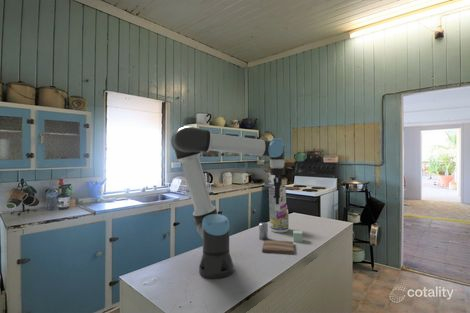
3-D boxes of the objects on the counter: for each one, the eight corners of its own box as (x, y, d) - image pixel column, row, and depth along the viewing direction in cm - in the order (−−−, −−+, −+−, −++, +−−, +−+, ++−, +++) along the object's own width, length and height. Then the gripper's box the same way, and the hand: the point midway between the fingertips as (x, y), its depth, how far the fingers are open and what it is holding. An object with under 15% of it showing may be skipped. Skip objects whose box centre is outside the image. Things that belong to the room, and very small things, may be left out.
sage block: (302, 242, 146) (302, 233, 146) (293, 241, 147) (293, 233, 147) (301, 239, 151) (301, 230, 151) (293, 238, 152) (293, 230, 152)
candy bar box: (278, 214, 143) (278, 184, 143) (286, 215, 140) (286, 185, 140) (268, 218, 134) (268, 187, 134) (277, 219, 131) (276, 187, 131)
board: (293, 254, 129) (293, 251, 129) (262, 252, 132) (262, 249, 132) (292, 244, 143) (292, 241, 143) (264, 242, 146) (264, 240, 146)
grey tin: (267, 240, 150) (267, 225, 150) (258, 239, 151) (258, 224, 151) (267, 237, 155) (267, 222, 155) (259, 237, 156) (259, 222, 156)
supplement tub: (280, 234, 160) (279, 207, 160) (266, 230, 170) (265, 204, 169) (292, 230, 168) (292, 205, 168) (278, 226, 177) (278, 202, 177)
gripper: (284, 168, 124) (284, 213, 125) (284, 166, 148) (284, 203, 148) (268, 168, 126) (269, 212, 126) (271, 166, 149) (271, 203, 150)
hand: (277, 207), depth 137 cm, fingers closed on candy bar box, 12 cm apart
